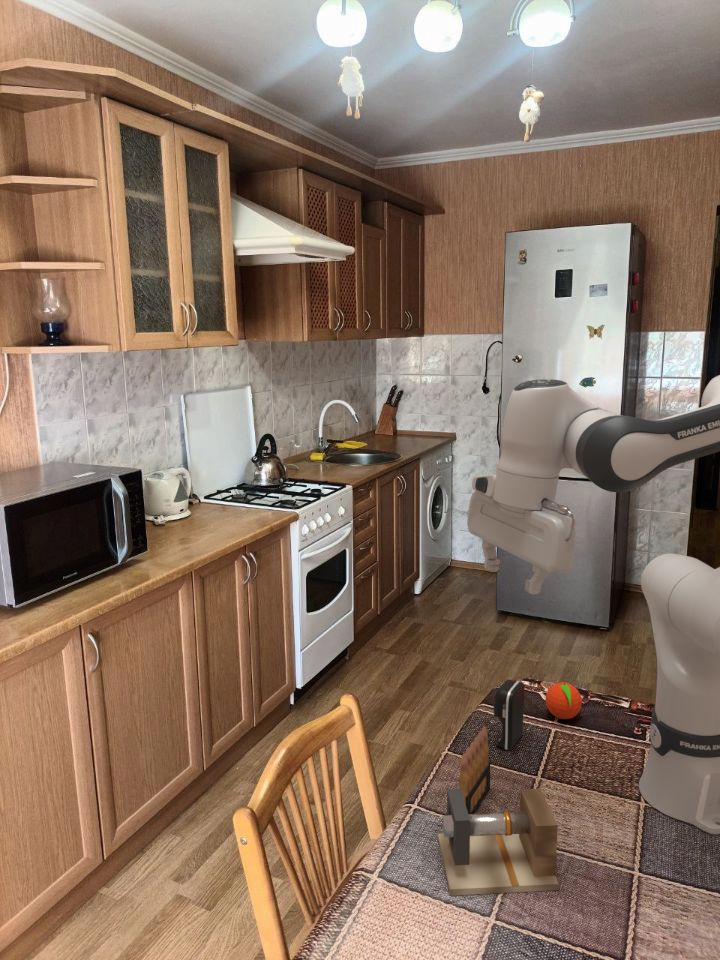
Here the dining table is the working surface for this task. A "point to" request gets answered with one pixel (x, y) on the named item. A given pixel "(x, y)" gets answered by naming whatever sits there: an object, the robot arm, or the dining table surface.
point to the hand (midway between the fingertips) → (510, 580)
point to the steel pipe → (492, 824)
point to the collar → (459, 827)
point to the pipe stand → (508, 856)
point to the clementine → (563, 700)
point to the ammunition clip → (475, 772)
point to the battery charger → (510, 712)
